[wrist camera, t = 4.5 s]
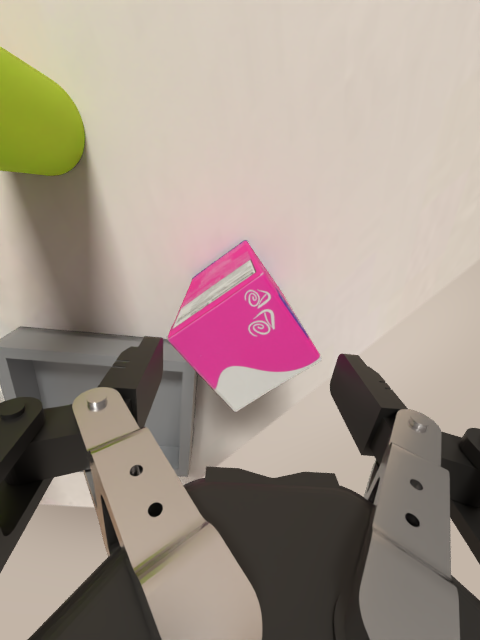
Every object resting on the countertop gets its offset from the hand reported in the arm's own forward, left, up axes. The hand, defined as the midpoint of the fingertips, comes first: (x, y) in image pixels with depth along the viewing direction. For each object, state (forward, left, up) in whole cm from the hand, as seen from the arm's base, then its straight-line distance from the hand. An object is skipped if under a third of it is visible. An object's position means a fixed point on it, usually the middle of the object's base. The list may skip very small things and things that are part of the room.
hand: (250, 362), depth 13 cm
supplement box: (0, 0, -13) cm, 13 cm away
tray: (-11, -13, -12) cm, 21 cm away
